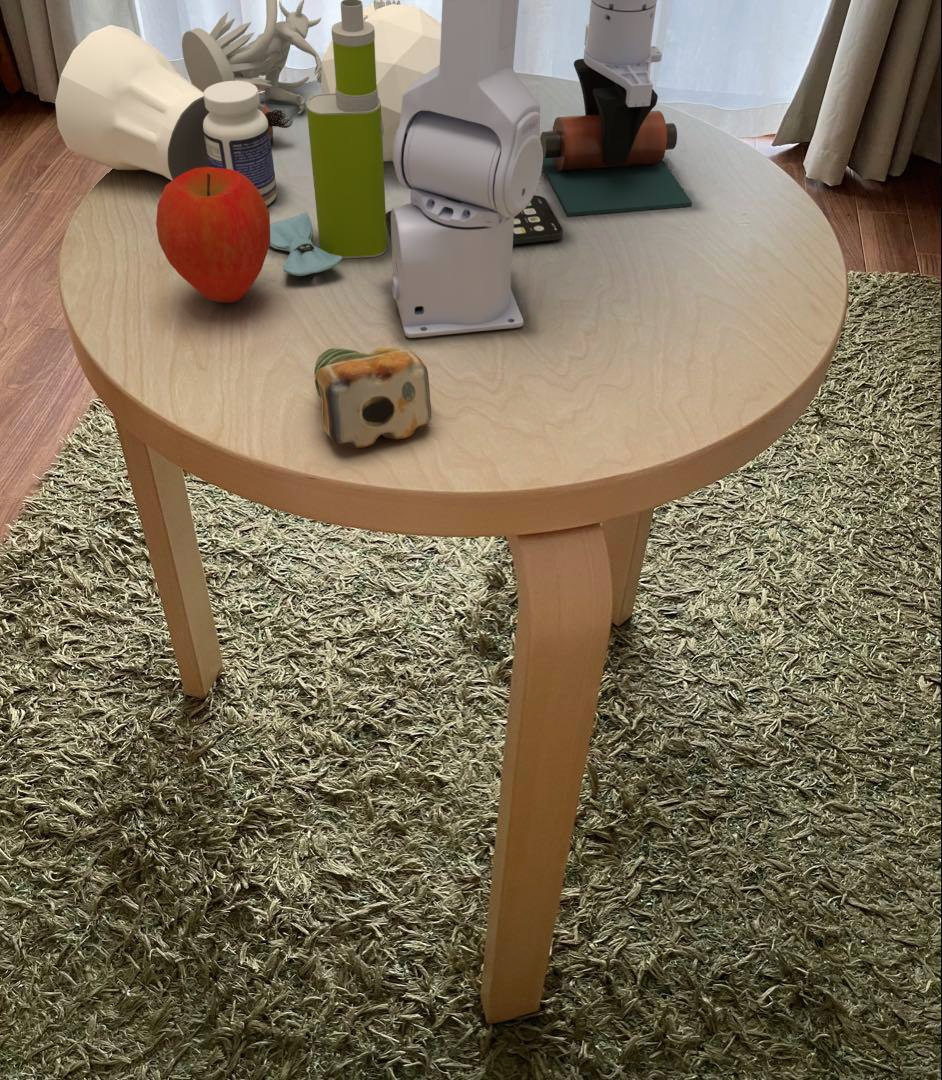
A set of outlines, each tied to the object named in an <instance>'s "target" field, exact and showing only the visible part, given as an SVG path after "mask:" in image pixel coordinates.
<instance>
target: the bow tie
mask: <svg viewBox="0 0 942 1080" xmlns="http://www.w3.org/2000/svg"><path fill="white" fill-rule="evenodd" d="M312 236H313V224H312V220H311V217H310V215H309V213H308V211H305V212H303V213H300V214H298V215H296V216H293V217H288V218H286V219H283V220H278V221H276V222H274V223H270V245H269V247H271V248H273V249H276V250H280V251H284V252H289V254H288V256H287V258H286V260H285V263H284V265H283V269H282V270H283V272H284V273H286V274H289V275H292V276H296V277H303V276H307V275H311V274H317V273H321V272H325V271H327V270H330V269H332V268H335V266H337V265H338V264H339V263H340V262H341V261H342V259H343V258H342V256H338V255H333V254H329V253H327V252H325V251H323V250H322V249H320V247H317V246H316V245H314V243H313V241H312V238H313V237H312Z"/></svg>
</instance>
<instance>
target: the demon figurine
mask: <svg viewBox="0 0 942 1080" xmlns="http://www.w3.org/2000/svg"><path fill="white" fill-rule="evenodd" d="M304 4H305V0H301V1H300V3H299V4H298V6H297V7H296V9H295V11H291V12H290V11H288V10H287V9H286V8H285V6H284V5H283V4H282V2H281V1H280V0H265V9H266V10H265V12H266V13H265V15H266V18H265V19H266V20H265V27H264V31H263V32H262V33H259V34H258V35H257V37H256V38H255V39H254V40H252V41H250V39H251V38H252V37H253V35H254V34H255V33H256V32H255V31H254V32H251V33H248V34H245V33H246V31H248V28H249V27H250V25H251V23H252V21H250V22H246V23H243V24H241V25H239V26H237V27H236V28H234V29H233V30H231V31H230V29H231V27H232V25H234V24H233V23H234V22H235V20H236V17H234V18H232V19H230V20H228V21H227V18H228V15H229V11H227V12H226V13H224V15H222V16H221V17H220V19H219V20H218V22H217V23H216V24H215V26H214V27H213V28H212V30H211V32H210V33H208V32H207V31H205V30H204V29H203V28H200V27H196V28H193V29H190V30H187V31H185V32H184V34H183V35H182V39H181V50H182V58H183V61H184V65H185V69H186V72H187V75H188V77H189V81H190V83H191V84H193V85H194V86H195V87H197V88H198V89H199V90H200V91H202V92H203V93H204V91H205V89H207V88H208V87H209V86H211V85H214V84H217V83H220V82H226V81H244V82H249V83H251V84H253V85H255V86H256V87H257V89H258V90H261V91H264V93H265V96H266V97H268V98H269V99H271V100H275V101H282V102H283V101H285V102H294V103H297V104H298V106H299V111H298V112H297V115H300V114H302V113H303V111H304V110H305V104H306V102H305V100H304V99H305V98H303V96H302V95H301V94H296V93H294V92H291V91H293V90H295V89H298V88H299V87H302V85H304V84H306V83H307V82H308V81H309V79H310V76H305V77H304V78H303V79H300V80H299V81H298V80H297V81H295V82H282V81H280V80H279V79H280V75H281V72H282V70H283V69H284V67H285V65H286V63H287V61H288V58H289V54H290V49H291V46H294V47H295V48H297V49H298V50H300V51H301V52H305V53H306V54H309V55H311V56H312V57H313V58H314V60H315V61H314V62H315V64H316V66H315V69H314V71H313V73H314V75H316V82H317V83H319V84H321V61H322V59H321V58H320V55H319V54H318V52H317V51H316V50H315V48H314V47H313V46H312V45H311V44H310V43H309V42H308V41H307V40H306V39H307V35H308V33H309V29H310V28H312V27H315V26H317V25H318V24H319V23H320V22H321V21H322V17H319V18H317V19H314V20H309V19H308V17H307V16H306V15H305V14H304V13H303V8H304ZM278 6H279V9H280V12H281V13H282V14H283V16H284V17H285V21H283V20H282V21H278ZM228 31H230V32H228ZM227 32H228V33H227ZM226 33H227V34H226ZM243 34H245V35H243ZM249 41H250V42H249ZM248 42H249V43H248ZM247 43H248V44H247ZM264 76H265V77H264ZM257 108H258V110H260V111H261V112H262V111H263V109H264V103H261V102H260V104H259V106H258V107H257ZM268 110H269V112H271V110H270V108H268Z"/></svg>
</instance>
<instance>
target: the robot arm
mask: <svg viewBox="0 0 942 1080" xmlns="http://www.w3.org/2000/svg"><path fill="white" fill-rule="evenodd" d="M657 2H658V0H590V8H589V19H588V23H587V24H586V25H585V33H584V50H583V58H579V59H576V60H575V61H573V67H574V69H575V72H576V74H577V77H578V81H579V84H580V87H581V88H580V89H581V93H582V97H583V104H584V115H598V114H600V120H601V137H602V157H603V162H604V164H605V165H617V164H625V163H626V161H627V159H628V156H629V154H630V151H631V149H632V146H633V143H634V141H635V138H636V136H637V133H638V131H639V129H640V127H641V125H642V123H643V121H644V120H645V118H646V117H647V115H648V114H649V113H650V111H653V109H654V108H655V106H657V103H658V98H659V96H658V93H656V91H655V90H654V89H653V85H654V84H653V82H652V81H651V80H652V79H651V66H652V63H658V62H659V63H660V62H661V61H662V57H663V53H662V51H661V50H660V49H659V48H658V47H657V46H656V45H655V46H654V45H652V39H653V33H654V32H653V31H654V24H655V16H656V11H657V10H656V9H657ZM519 3H520V0H442V3H441V22H440V23H441V46H440V65H438V66H437V67H436V68H434V69H433V70H431V71H429V72H428V73H426V74H425V75H423V76H421V77H420V78H418V79H417V80H416V81H414V82H413V83H412V84H411V85H410V86H409V88H408V89H407V90H406V91H405V92H404V94H403V96H402V110H401V117H400V122H399V127H398V129H397V132H396V136H395V140H394V146H393V161H392V162H393V167H394V170H395V171H394V172H395V174H396V178H397V180H398V182H399V184H400V185H401V186H402V187H404V188H405V189H408V190H409V191H410V203H407V204H403V205H400V206H399V205H398V206H395V207H392V208H391V209H390V211H391V235H390V239H391V240H390V241H391V262H392V263H391V265H392V276H391V289H392V296H393V299H394V300H395V302H396V306H397V309H398V314H399V317H400V322H401V325H402V329H403V333H404V336H405V337H406V338H411V339H413V338H424V337H435V336H444V335H454V334H466V333H475V332H487V331H496V330H504V329H505V330H506V329H507V330H508V329H515V328H521V327H523V325H524V318H523V316H522V313H521V311H520V307H519V305H518V304H517V301H516V299H515V295H514V293H513V291H512V288H511V286H512V269H513V268H512V267H513V249H514V248H513V247H514V245H513V230H514V216H516V215H518V214H519V213H520V212H521V211H522V210H523V209H525V208H526V207H527V205H528V204H529V203H530V201H531V199H532V198H533V196H534V195H535V193H536V191H537V190H538V187H539V184H540V180H541V175H542V170H543V168H542V164H543V149H542V145H541V139H540V137H541V105H540V103H539V102H538V100H537V99H536V97H535V96H534V95H533V93H532V92H531V91H530V90H529V88H528V87H527V86H526V85H525V83H524V82H523V81H522V80H521V79H520V77H519V76H518V74H517V73H516V71H515V70H514V61H515V49H516V40H517V39H516V37H517V27H518V15H519V14H518V13H519Z"/></svg>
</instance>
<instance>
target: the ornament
mask: <svg viewBox="0 0 942 1080" xmlns="http://www.w3.org/2000/svg"><path fill="white" fill-rule="evenodd" d="M313 370H314V372H313V374H314V385H315V390H316V393H317V395H318V396H319V398H320V409H321V421H322V422H321V424H322V427H323V429H324V430H325V432H326V434H327V436H328V437H329V439H330V440H331V442H333V443H335V444H337V445H346V446H347V447H349V448H352V449H361V448H367V447H369V446H372V445H374V444H375V442H376V441H377V439H378V438H379V437H380V436H383V437H384V438H387V439H392V440H403V439H406V438H409V437H410V436H412V435H413V434H414V433H415V431H416V429H417V428H419V427H422V426H426V425H428V424H429V423H430V421H431V419H432V404H431V391H430V390H431V389H430V380H429V379H430V377H429V372H428V368H427V366H426V364H424V362H423V361H422V359H421V358H420V357H419V356H418V355H417V354H416V353H414V351H412V350H410V349H400V348H397V347H394V346H379V347H377V348H375V349H373V350H372V351H371V352H370V353H365V352H359V351H358V350H355V349H349V348H348V349H347V348H343V347H341V348H339V347H331V348H328V349H326V350H323V352H322V353H320V354H319V356H318V357H317V359H316V361H315V366H314V369H313Z"/></svg>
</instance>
